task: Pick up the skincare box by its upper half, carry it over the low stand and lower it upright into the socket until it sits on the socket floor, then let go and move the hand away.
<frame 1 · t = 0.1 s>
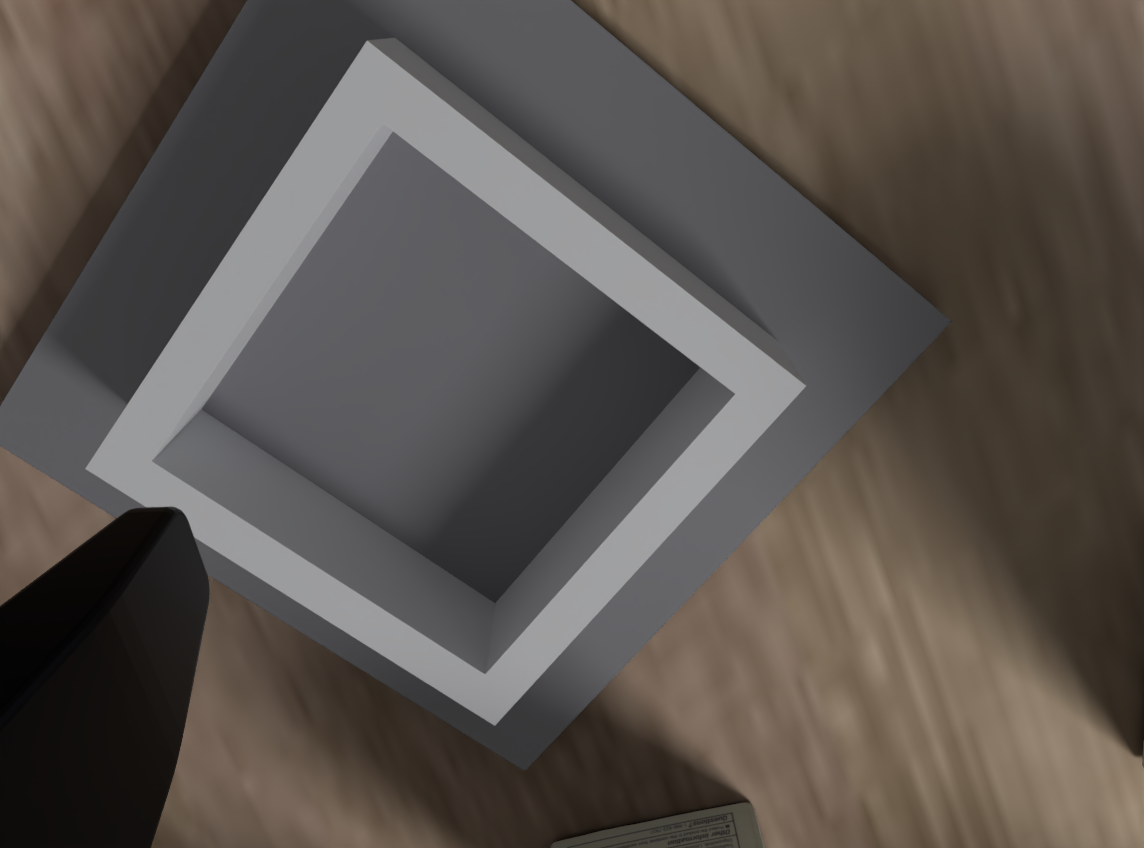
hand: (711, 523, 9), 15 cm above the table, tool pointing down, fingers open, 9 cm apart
socket stand: (460, 365, 24), on the table
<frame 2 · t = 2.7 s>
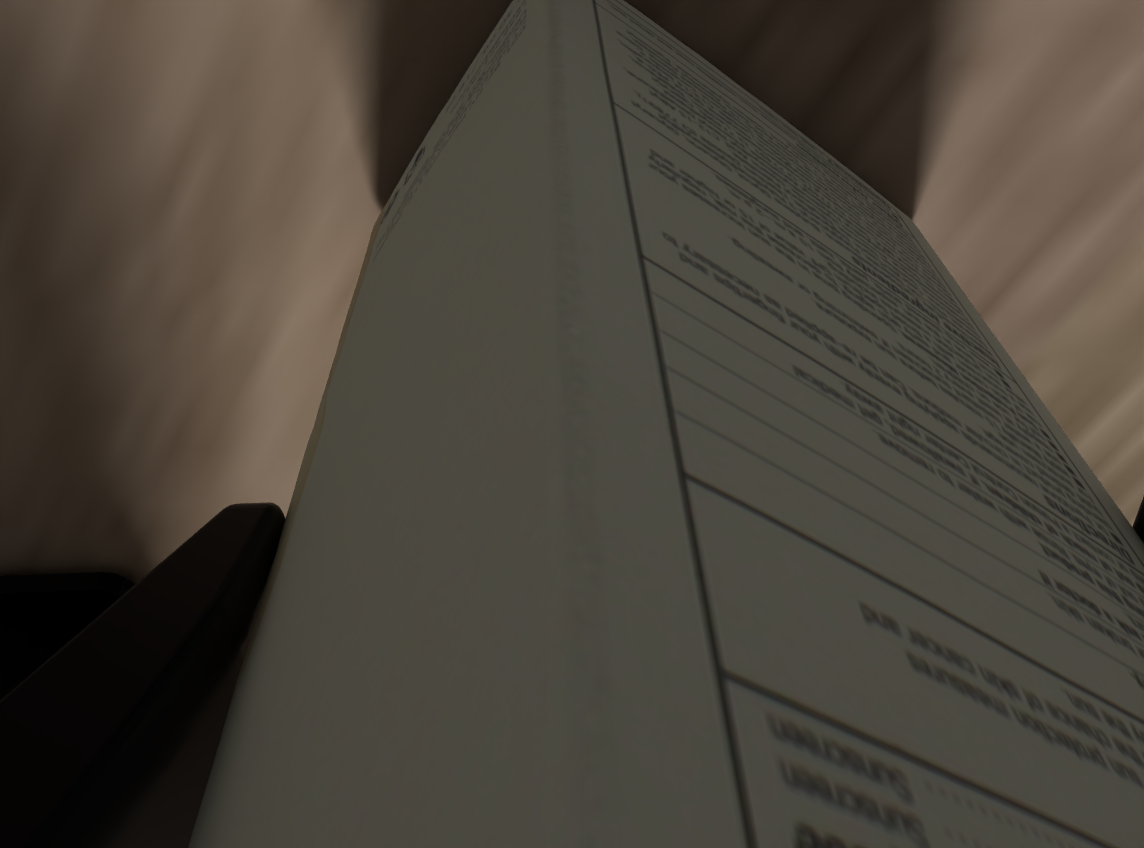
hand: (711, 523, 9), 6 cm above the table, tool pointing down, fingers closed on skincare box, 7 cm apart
skincare box: (656, 215, 14), on the table, touching gripper
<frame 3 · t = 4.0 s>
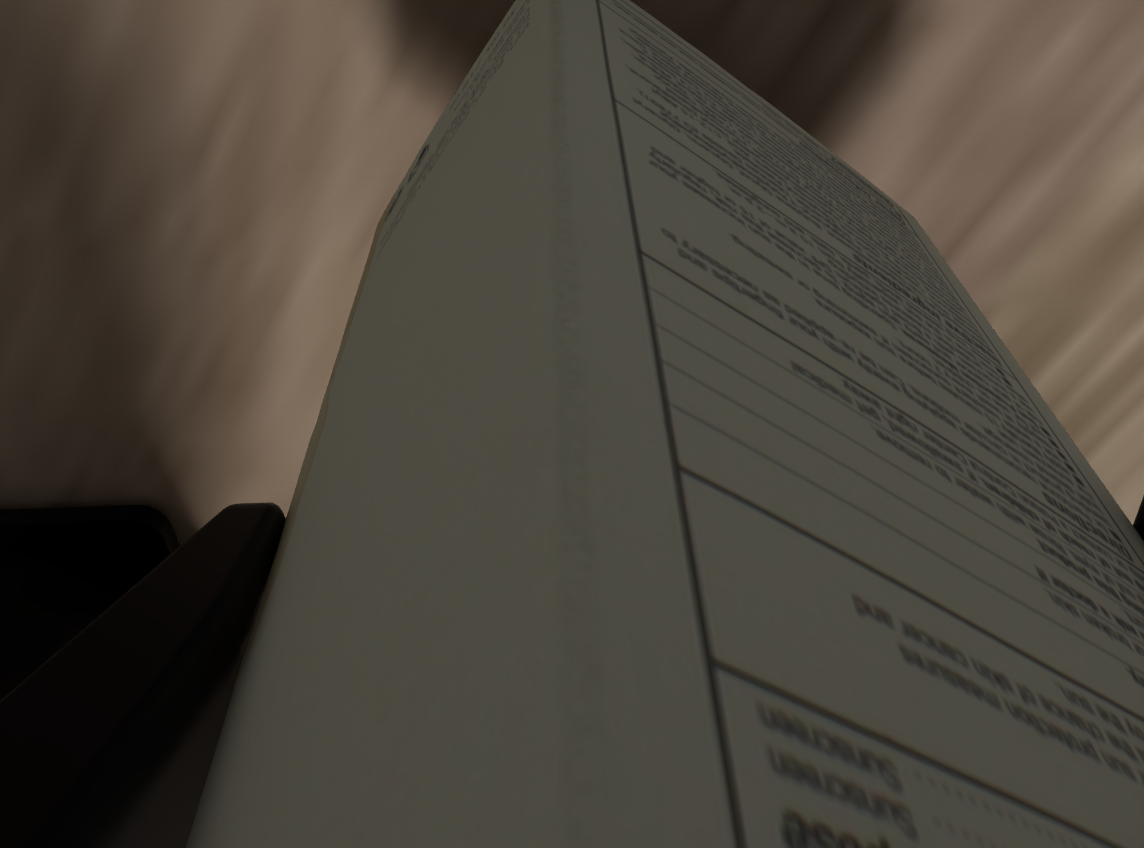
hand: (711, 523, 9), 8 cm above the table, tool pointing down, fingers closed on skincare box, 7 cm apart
skincare box: (660, 213, 14), point 1 cm above the table, touching gripper
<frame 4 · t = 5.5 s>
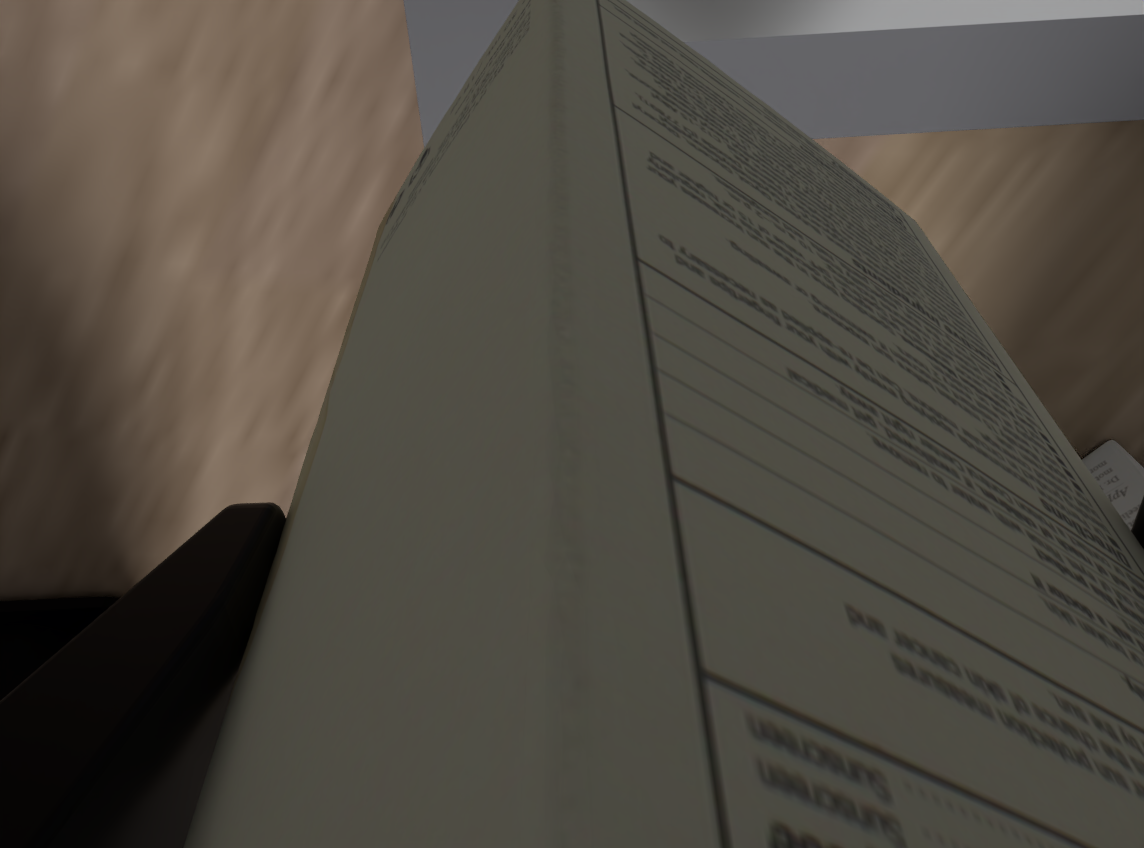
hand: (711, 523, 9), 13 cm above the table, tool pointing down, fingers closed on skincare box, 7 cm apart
skincare box: (661, 216, 14), point 7 cm above the table, touching gripper
skincare box 2: (1041, 571, 28), on the table
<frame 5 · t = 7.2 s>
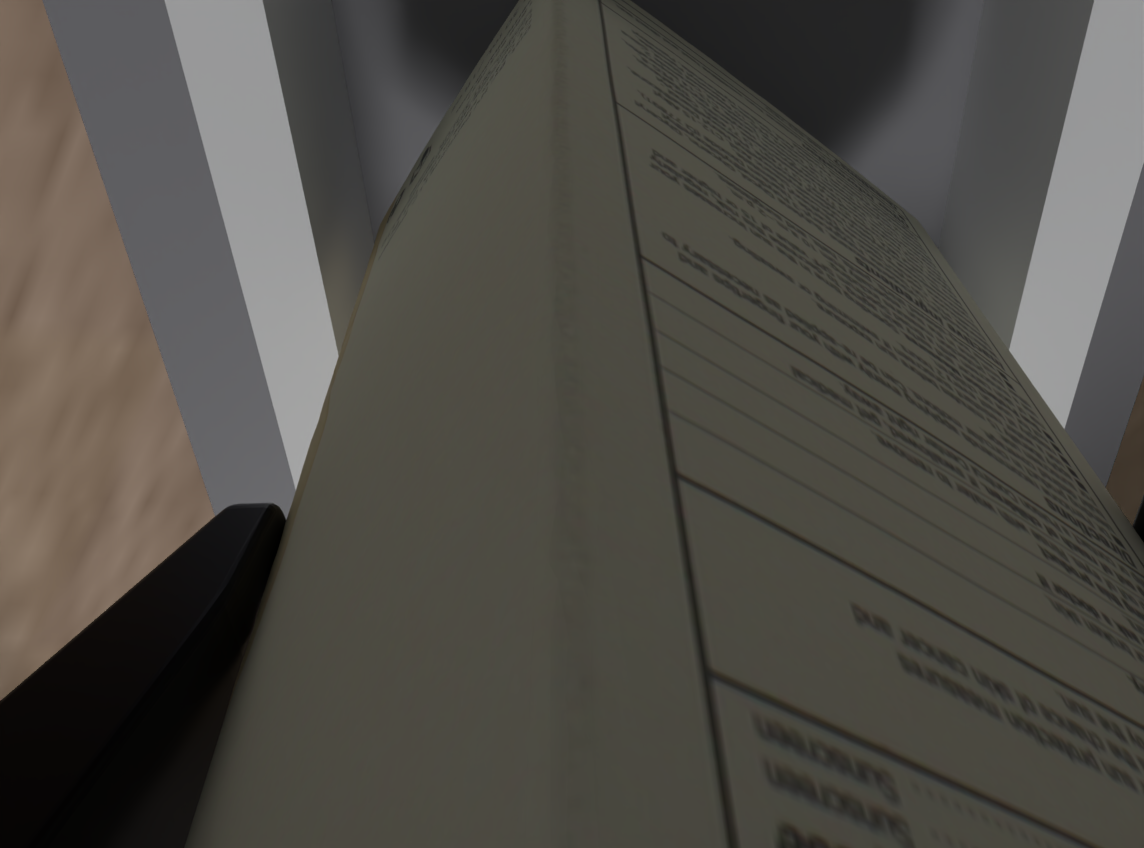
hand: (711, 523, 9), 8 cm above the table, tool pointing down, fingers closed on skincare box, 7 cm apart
skincare box: (662, 215, 14), point 2 cm above the table, touching gripper
socket stand: (652, 145, 15), on the table
when the fingers open (8 cm above the table, at t = 8.4 s): skincare box drops 1 cm, resting on socket stand.
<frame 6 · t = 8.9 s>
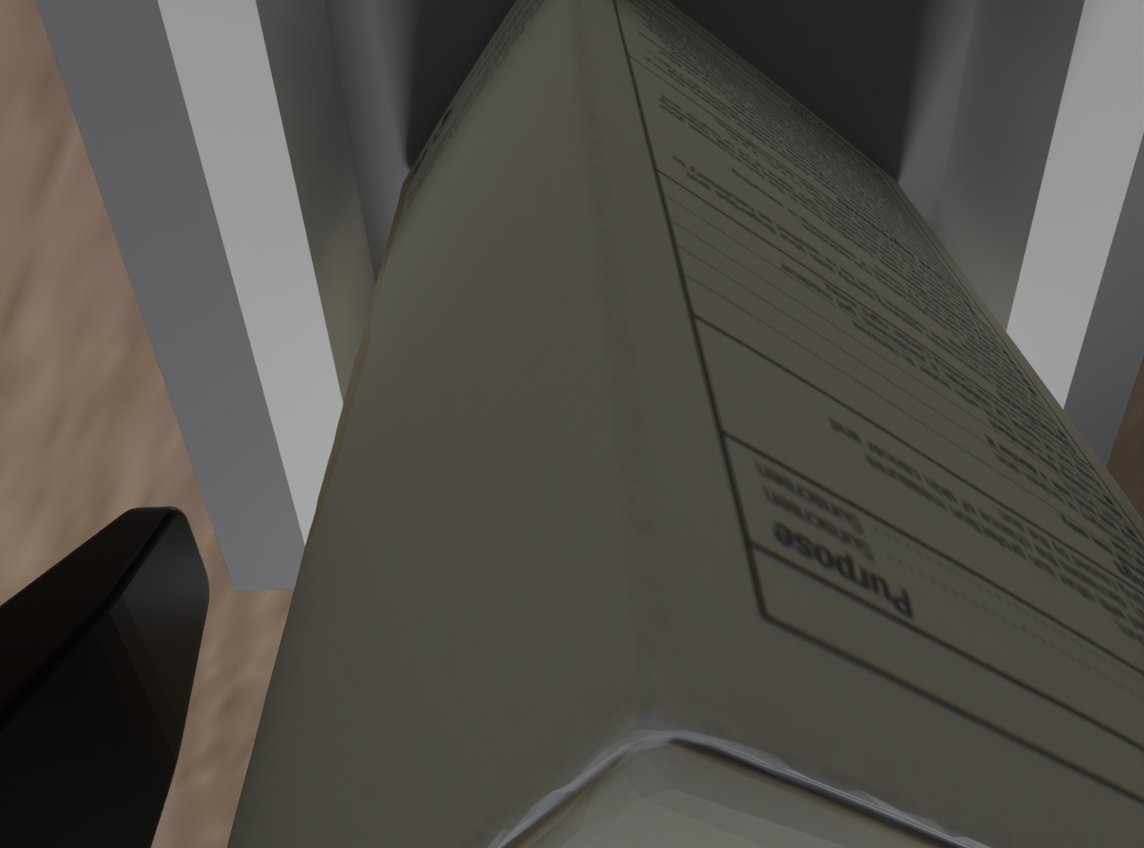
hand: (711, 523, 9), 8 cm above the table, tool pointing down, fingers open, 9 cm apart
skincare box: (662, 176, 15), point 1 cm above the table, touching socket stand
socket stand: (646, 150, 16), on the table
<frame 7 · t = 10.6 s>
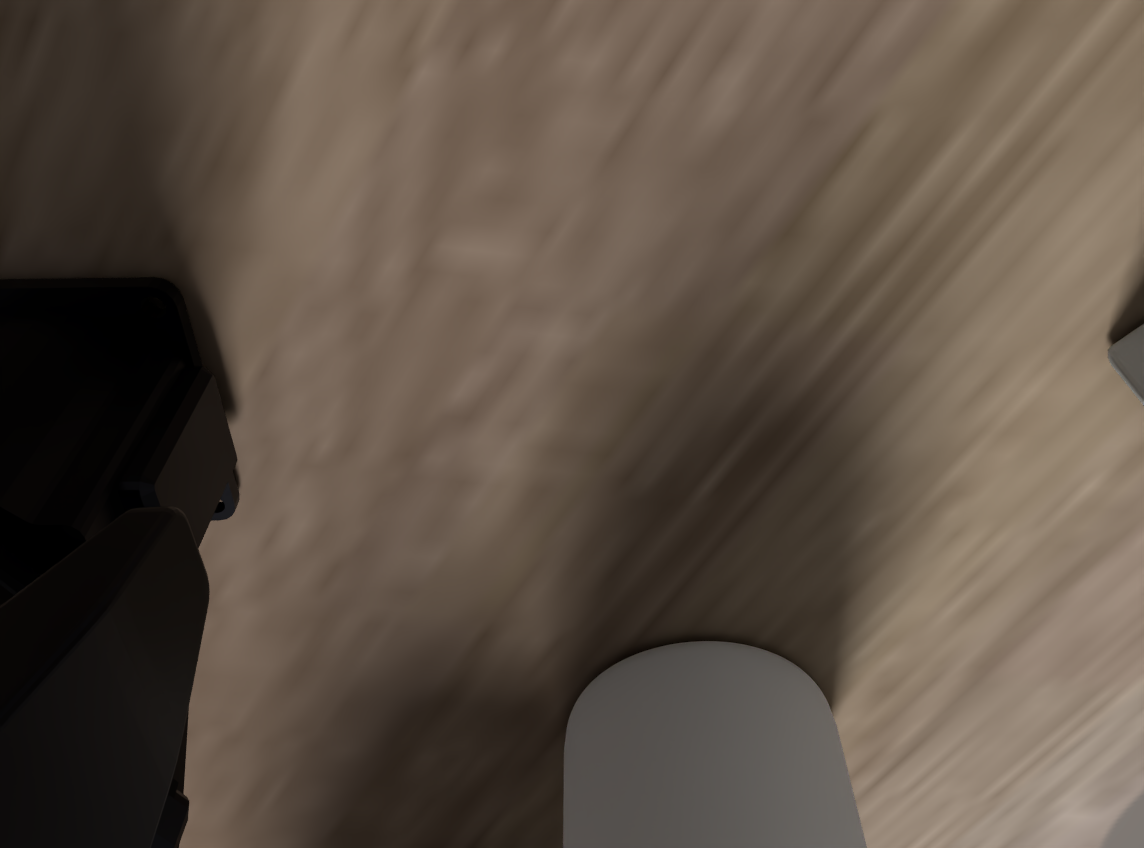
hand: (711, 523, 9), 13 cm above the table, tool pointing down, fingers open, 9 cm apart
pill bottle: (698, 716, 31), on the table
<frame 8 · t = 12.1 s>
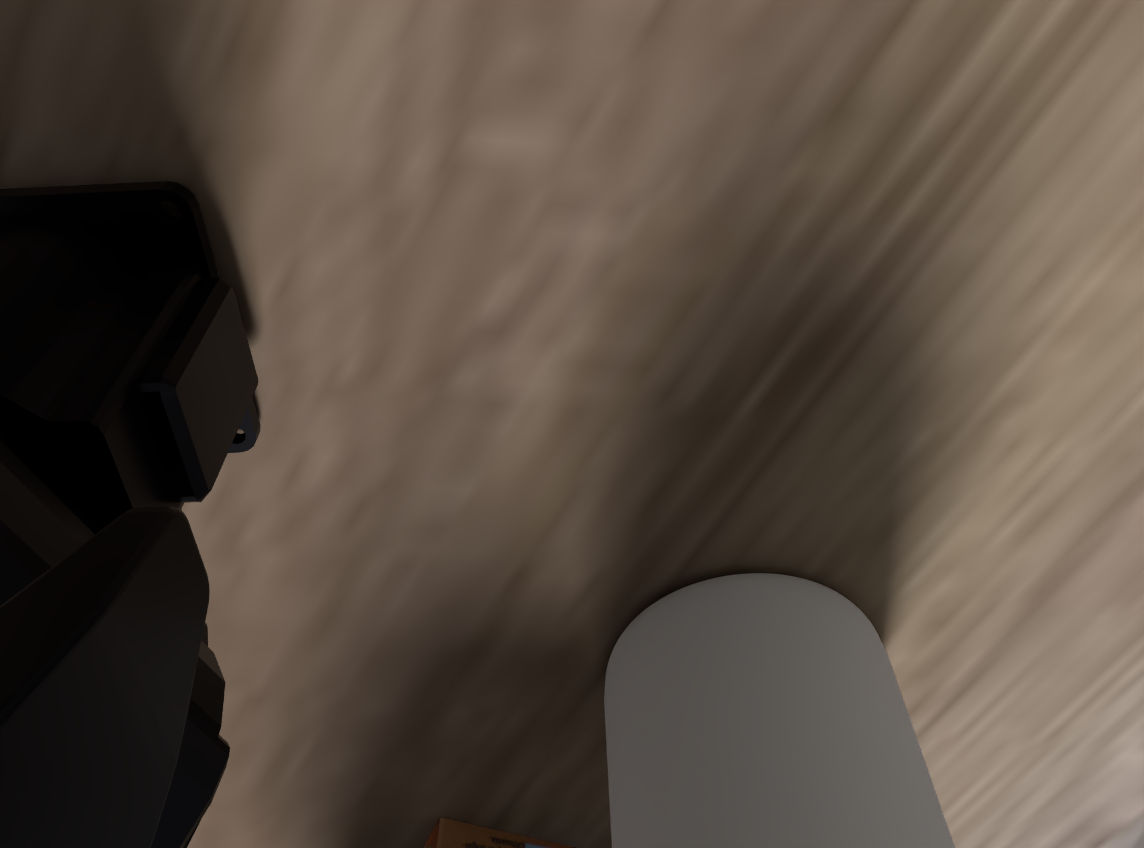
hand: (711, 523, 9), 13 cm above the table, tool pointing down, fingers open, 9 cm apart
pill bottle: (742, 658, 29), on the table
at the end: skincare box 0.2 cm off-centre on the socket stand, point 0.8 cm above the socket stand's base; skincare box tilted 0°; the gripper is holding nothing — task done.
